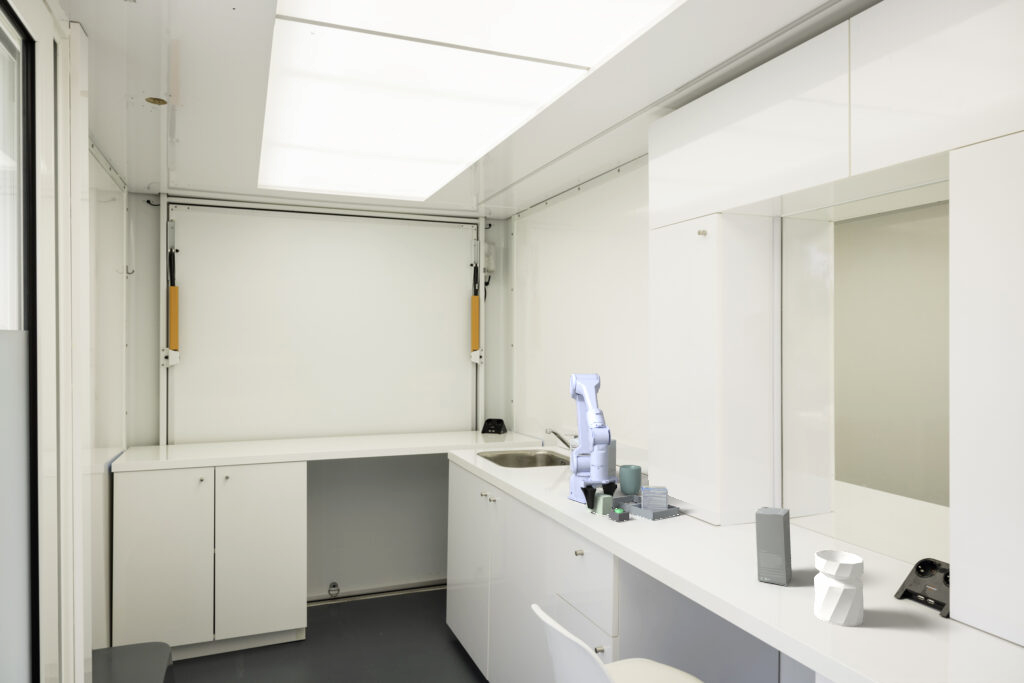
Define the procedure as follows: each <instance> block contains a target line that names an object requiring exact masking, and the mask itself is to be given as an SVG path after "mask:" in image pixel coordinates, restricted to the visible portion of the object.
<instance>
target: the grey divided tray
mask: <svg viewBox="0 0 1024 683" xmlns="http://www.w3.org/2000/svg"><path fill="white" fill-rule="evenodd" d="M630 502H633V503H630ZM634 502H637V503H634ZM625 503H627V504H625ZM612 507H614V508H613V509H615V508H617V509H623V510H625V511H628V512H629V514H631V513H632V514H631V515H634V514H635V515H634V516H637V515H638V516H637V517H640V516H641V518H643V517H644V519H646V518H647V519H646V520H649V519H651V520H650V521H656V520H655V519H658V520H661V519H660V518H663V519H666V518H665V517H669V516H673V515H677V514H679V515H680V507H679V506H675V505H672V504H669V503H668V509H666V510H661V511H655V512H651V511H648V510H645V509H641V495H638V494H636V495H623V496H616V497H612ZM669 518H670V517H669Z"/></svg>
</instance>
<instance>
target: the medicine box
mask: <svg viewBox="0 0 1024 683" xmlns="http://www.w3.org/2000/svg"><path fill="white" fill-rule="evenodd" d="M640 491H641V492H640V494H641V495H640V497H641V509H645V510H648V511H651V512H655V511H661V510H666V509H668V504H669V500H668V499H669V497H668V494H669V493H668V492H669V490H668V488H667V487H666V486H665V485H663V486H662V485H659V486H658V485H641V488H640Z"/></svg>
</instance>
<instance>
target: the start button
mask: <svg viewBox="0 0 1024 683" xmlns="http://www.w3.org/2000/svg"><path fill="white" fill-rule="evenodd" d="M614 510H615V512H617V513H623V509H615V508H614Z"/></svg>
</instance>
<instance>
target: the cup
mask: <svg viewBox="0 0 1024 683" xmlns="http://www.w3.org/2000/svg"><path fill="white" fill-rule="evenodd" d="M618 470H619V471H618V472H619V477H618V482H619V488H620V492H621V493H622V494H623V495H624V496H629V495H638V494H639V492H640V491H641V487H642V466H640V465H634V464H622V465H620V466H619V469H618Z"/></svg>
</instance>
